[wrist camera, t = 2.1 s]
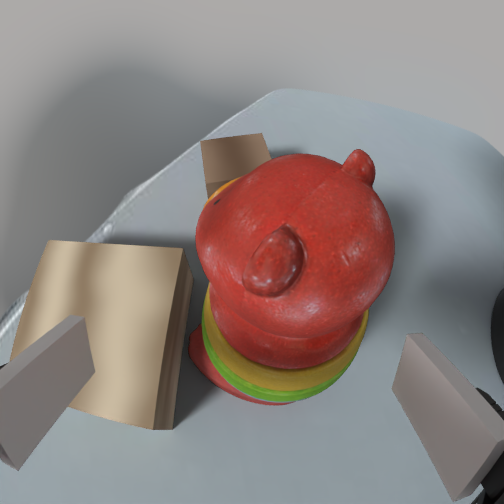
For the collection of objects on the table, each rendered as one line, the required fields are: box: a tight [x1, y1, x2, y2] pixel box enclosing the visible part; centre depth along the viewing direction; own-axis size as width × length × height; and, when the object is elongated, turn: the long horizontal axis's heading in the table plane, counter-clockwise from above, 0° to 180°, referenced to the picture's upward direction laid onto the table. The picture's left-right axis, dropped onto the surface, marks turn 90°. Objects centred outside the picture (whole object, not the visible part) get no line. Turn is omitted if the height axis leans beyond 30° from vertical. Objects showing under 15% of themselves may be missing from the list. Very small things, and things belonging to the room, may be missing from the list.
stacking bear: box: [188, 149, 395, 405], centre depth 16 cm, size 11×10×18 cm
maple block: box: [10, 240, 194, 430], centre depth 21 cm, size 13×13×5 cm
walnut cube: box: [200, 133, 272, 199], centre depth 29 cm, size 6×6×6 cm
